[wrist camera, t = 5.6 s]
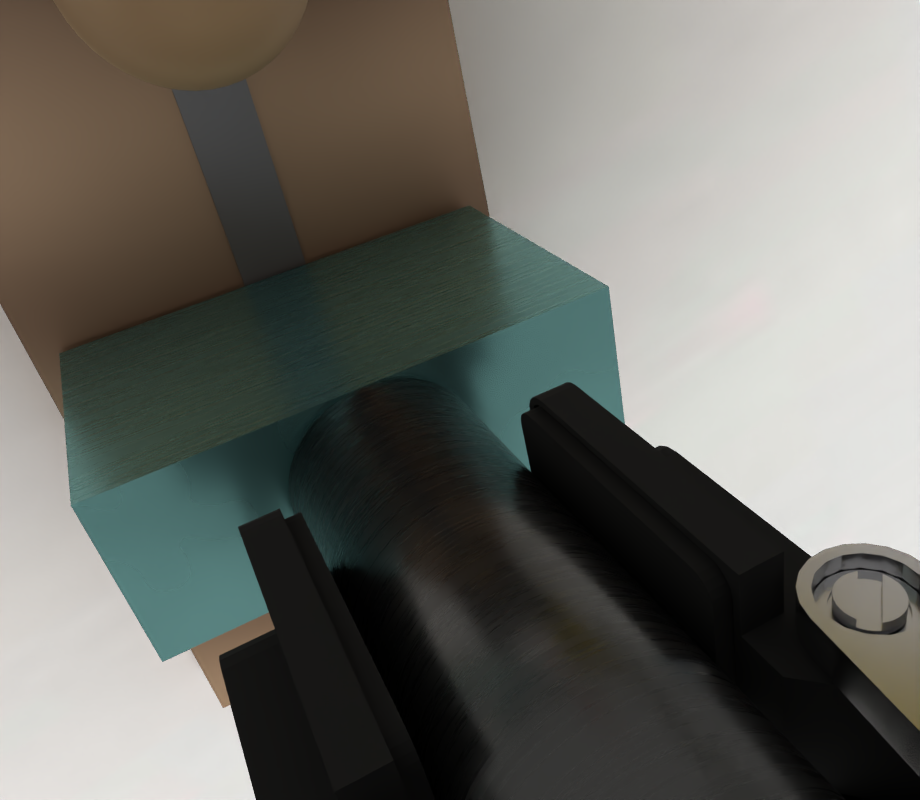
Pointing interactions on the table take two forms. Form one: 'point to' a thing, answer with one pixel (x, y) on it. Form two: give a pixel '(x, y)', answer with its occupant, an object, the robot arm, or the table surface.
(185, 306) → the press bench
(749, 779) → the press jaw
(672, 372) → the table surface
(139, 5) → the walnut
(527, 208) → the table surface
